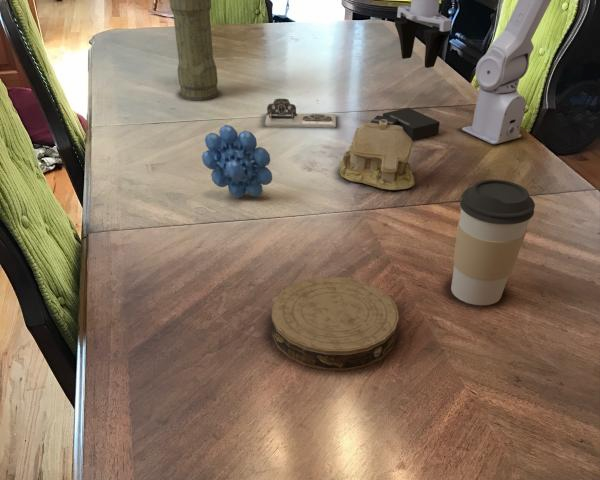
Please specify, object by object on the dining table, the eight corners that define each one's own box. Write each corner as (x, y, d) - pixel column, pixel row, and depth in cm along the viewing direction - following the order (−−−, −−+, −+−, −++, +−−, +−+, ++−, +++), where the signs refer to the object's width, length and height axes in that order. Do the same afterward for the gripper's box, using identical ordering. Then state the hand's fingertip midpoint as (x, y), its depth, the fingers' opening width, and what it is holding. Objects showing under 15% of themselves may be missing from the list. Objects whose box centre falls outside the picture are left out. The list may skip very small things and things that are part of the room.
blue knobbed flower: (201, 207, 103) (193, 134, 95) (208, 189, 108) (201, 118, 100) (270, 210, 102) (268, 137, 94) (274, 192, 107) (272, 121, 99)
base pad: (437, 134, 128) (439, 121, 126) (411, 141, 125) (413, 128, 123) (407, 119, 134) (408, 107, 132) (381, 125, 131) (382, 112, 129)
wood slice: (246, 329, 79) (244, 310, 77) (331, 282, 87) (332, 263, 85) (336, 389, 71) (338, 370, 68) (421, 331, 79) (425, 312, 77)
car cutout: (264, 126, 130) (264, 103, 127) (266, 115, 135) (266, 93, 132) (335, 127, 130) (336, 105, 127) (335, 116, 135) (336, 94, 132)
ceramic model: (419, 169, 115) (427, 113, 108) (411, 194, 107) (419, 136, 100) (346, 160, 118) (349, 105, 111) (332, 184, 110) (335, 127, 103)
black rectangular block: (396, 133, 128) (398, 118, 126) (387, 143, 124) (389, 128, 122) (375, 130, 129) (377, 114, 127) (366, 140, 125) (367, 124, 123)
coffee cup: (462, 266, 90) (484, 166, 80) (520, 289, 86) (551, 185, 76) (431, 293, 85) (450, 189, 75) (491, 318, 81) (520, 212, 70)
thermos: (225, 100, 142) (210, -94, 118) (173, 101, 141) (148, -94, 117) (225, 87, 148) (211, -99, 124) (175, 88, 147) (152, -99, 123)
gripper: (388, -17, 126) (382, 56, 135) (436, -4, 117) (425, 74, 126) (415, -21, 129) (407, 52, 138) (463, -8, 120) (451, 68, 129)
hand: (417, 62), depth 132 cm, fingers open, 7 cm apart
